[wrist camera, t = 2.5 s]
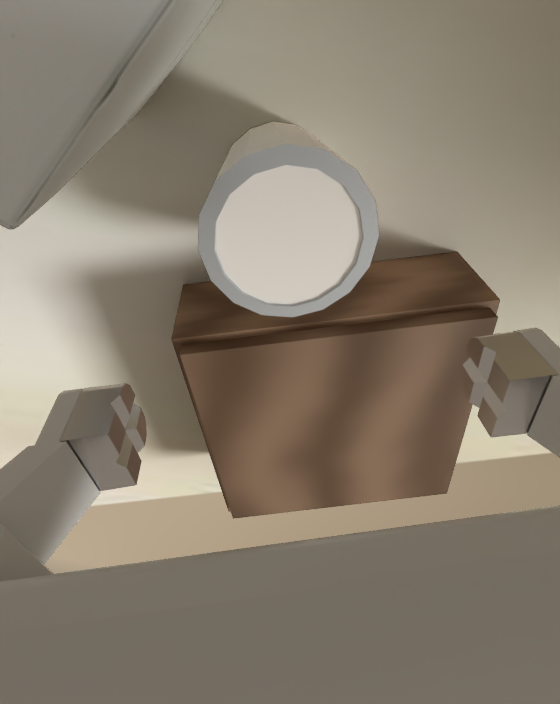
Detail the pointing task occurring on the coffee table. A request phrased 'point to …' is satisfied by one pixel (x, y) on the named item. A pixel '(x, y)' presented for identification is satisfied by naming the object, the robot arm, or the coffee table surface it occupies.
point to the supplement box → (78, 83)
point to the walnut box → (336, 387)
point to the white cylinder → (286, 223)
